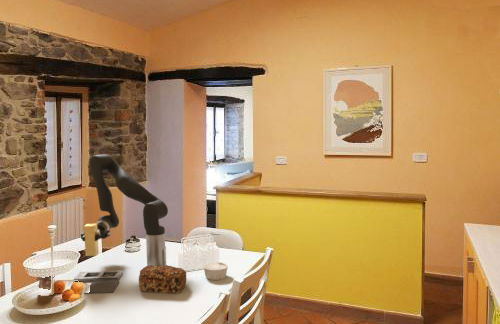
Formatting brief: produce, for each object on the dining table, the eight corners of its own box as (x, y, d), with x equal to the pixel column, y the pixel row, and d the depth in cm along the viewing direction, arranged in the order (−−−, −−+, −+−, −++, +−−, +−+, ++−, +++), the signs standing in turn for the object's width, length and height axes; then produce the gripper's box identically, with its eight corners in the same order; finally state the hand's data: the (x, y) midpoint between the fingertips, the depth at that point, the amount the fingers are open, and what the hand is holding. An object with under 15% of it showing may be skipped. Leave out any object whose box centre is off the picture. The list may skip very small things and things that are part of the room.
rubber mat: (119, 282, 197) (119, 281, 197) (112, 292, 185) (112, 291, 185) (92, 283, 196) (92, 282, 196) (84, 293, 184) (84, 292, 184)
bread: (138, 292, 186) (137, 269, 185) (148, 283, 196) (147, 261, 195) (180, 294, 183) (179, 271, 182) (187, 285, 193) (187, 263, 192)
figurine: (49, 297, 181) (47, 269, 180) (34, 296, 182) (32, 268, 181) (60, 290, 188) (58, 264, 187) (45, 289, 189) (44, 263, 188)
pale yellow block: (98, 252, 203) (97, 223, 202) (95, 255, 199) (94, 225, 197) (88, 252, 203) (87, 223, 201) (85, 256, 198) (84, 226, 197)
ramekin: (232, 276, 204) (232, 265, 203) (215, 283, 195) (214, 271, 195) (216, 271, 211) (216, 260, 211) (199, 277, 203) (198, 266, 203)
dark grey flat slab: (122, 273, 208) (122, 270, 208) (118, 280, 200) (118, 277, 199) (80, 275, 207) (79, 272, 207) (73, 282, 198) (73, 278, 198)
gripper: (84, 222, 213) (73, 231, 196) (114, 221, 214) (105, 230, 197) (85, 237, 214) (74, 247, 197) (114, 236, 215) (105, 246, 198)
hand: (89, 239), depth 197 cm, fingers closed on pale yellow block, 4 cm apart
